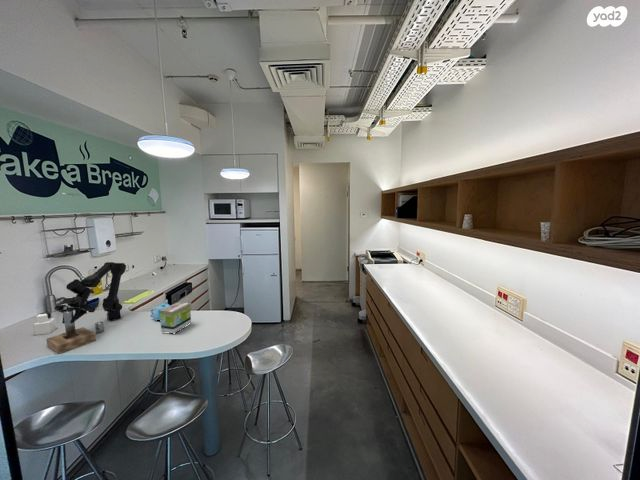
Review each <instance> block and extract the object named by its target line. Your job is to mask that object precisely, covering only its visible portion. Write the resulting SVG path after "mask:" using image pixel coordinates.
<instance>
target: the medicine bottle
mask: <svg viewBox="0 0 640 480" xmlns="http://www.w3.org/2000/svg"><path fill="white" fill-rule="evenodd" d="M57 328H58V327H57V322H56V317H54V318H53V317H52V314H51V312H50V311H45V312H41V313H39V314H36V322H35V323H33V331H34V335H35V336H40V334H41V335H46V334H47V335H48V334H51V333H52V332H53V331H55V330H56V329H57Z"/></svg>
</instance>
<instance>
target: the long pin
mask: <svg viewBox="0 0 640 480" xmlns="http://www.w3.org/2000/svg"><path fill="white" fill-rule="evenodd" d="M63 316H64V323H63V324H64V330H65V333H66V335H70V334H74V333H75V332H76V330H75V329H76V325H75V323H76V321H75V322H73V323H70V322H71V320H72V318H73V316H74V310H67V311H64V312H63V313H62V317H63Z"/></svg>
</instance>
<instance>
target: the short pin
mask: <svg viewBox="0 0 640 480" xmlns="http://www.w3.org/2000/svg"><path fill="white" fill-rule="evenodd" d="M94 326H95V335H96V334H99V335H100V334H103V333H105V324H104V321H98V322H95V323H94Z"/></svg>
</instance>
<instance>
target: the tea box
mask: <svg viewBox="0 0 640 480" xmlns="http://www.w3.org/2000/svg"><path fill="white" fill-rule="evenodd" d="M191 314H192V313H191V303H188V302H176V303H173V304H170V306H169V307H167V308H165V309H163V310H160V318H161V321H160V332H169V333H175V332H177V331H179V330H180V329H182V328H183V327H185V326H186V325H188V324H189V323H191V324H192V318H191V317H192V315H191ZM185 328H186V327H185ZM182 330H183V329H182ZM180 331H181V330H180ZM180 331H179V332H180ZM177 333H178V332H177Z"/></svg>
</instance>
